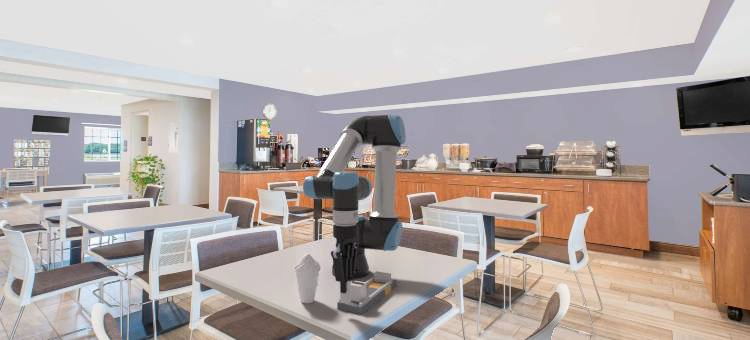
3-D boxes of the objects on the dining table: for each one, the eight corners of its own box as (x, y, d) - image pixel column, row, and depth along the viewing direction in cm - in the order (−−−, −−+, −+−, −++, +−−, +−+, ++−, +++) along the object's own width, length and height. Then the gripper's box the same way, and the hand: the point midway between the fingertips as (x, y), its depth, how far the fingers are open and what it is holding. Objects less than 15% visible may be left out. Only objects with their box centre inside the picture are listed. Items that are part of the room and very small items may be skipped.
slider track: (337, 308, 113) (337, 293, 112) (374, 282, 137) (374, 269, 137) (362, 314, 109) (363, 298, 109) (396, 286, 133) (397, 272, 133)
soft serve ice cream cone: (296, 296, 123) (296, 249, 122) (321, 295, 123) (321, 249, 123) (292, 306, 114) (292, 256, 114) (319, 305, 115) (319, 255, 114)
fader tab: (348, 300, 114) (349, 283, 114) (355, 295, 118) (355, 279, 118) (360, 302, 112) (360, 285, 112) (366, 298, 116) (366, 281, 116)
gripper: (345, 228, 100) (345, 313, 101) (366, 221, 112) (366, 296, 112) (322, 226, 103) (322, 308, 104) (345, 219, 115) (345, 292, 116)
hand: (345, 302), depth 108 cm, fingers closed
